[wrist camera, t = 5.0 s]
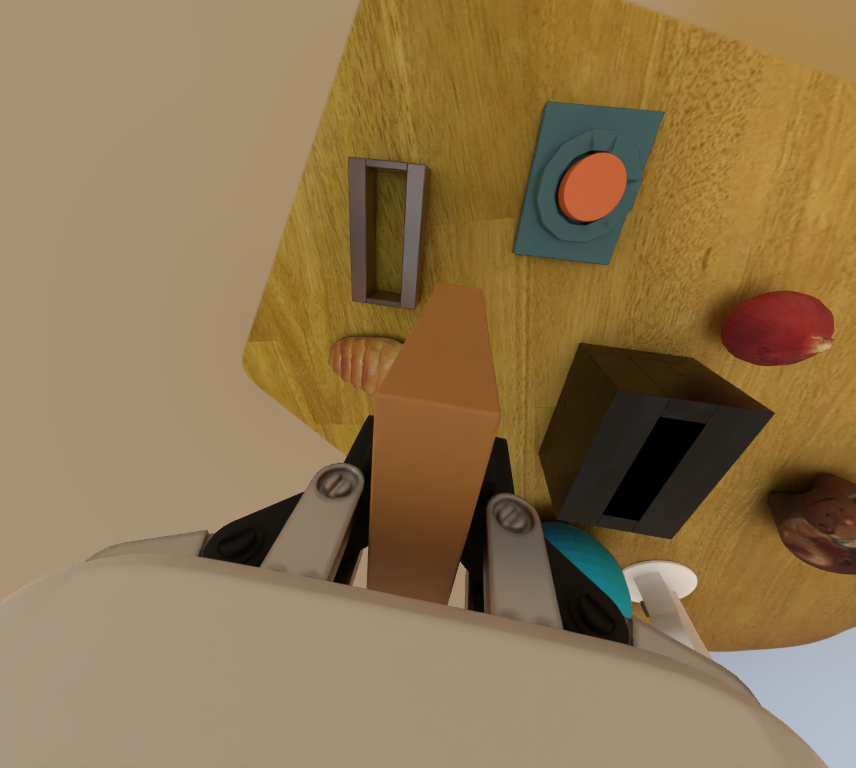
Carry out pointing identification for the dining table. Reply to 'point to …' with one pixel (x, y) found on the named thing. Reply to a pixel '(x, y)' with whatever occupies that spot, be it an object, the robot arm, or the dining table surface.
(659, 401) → the toaster
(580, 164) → the button
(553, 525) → the decorative orb
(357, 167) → the brown rectangular frame
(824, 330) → the onion
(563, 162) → the block
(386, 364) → the pastry
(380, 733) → the robot arm
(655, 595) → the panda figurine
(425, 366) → the toast
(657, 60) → the dining table surface
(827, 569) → the brown mottled ceramic figure
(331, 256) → the dining table surface
